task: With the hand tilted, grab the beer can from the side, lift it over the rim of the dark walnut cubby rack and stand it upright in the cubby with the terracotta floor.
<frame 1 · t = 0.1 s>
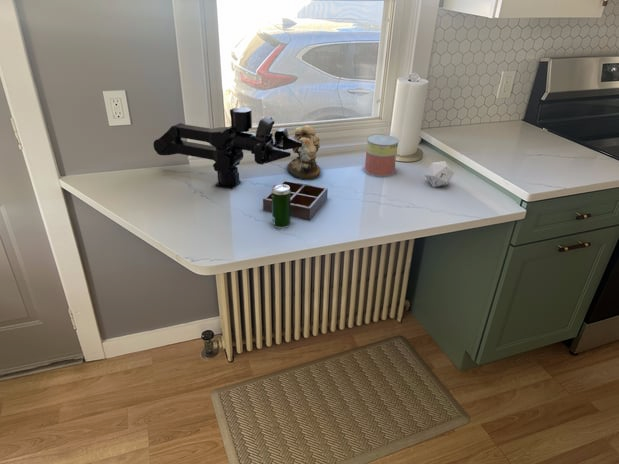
hand: (296, 149, 145), 17 cm above the worktop, tool horizontal, fingers open, 9 cm apart
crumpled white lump: (437, 185, 165), on the worktop
rack: (296, 205, 148), on the worktop
beige bust sculpture: (303, 171, 173), on the worktop
canned food: (379, 170, 174), on the worktop
beer can: (281, 225, 137), on the worktop
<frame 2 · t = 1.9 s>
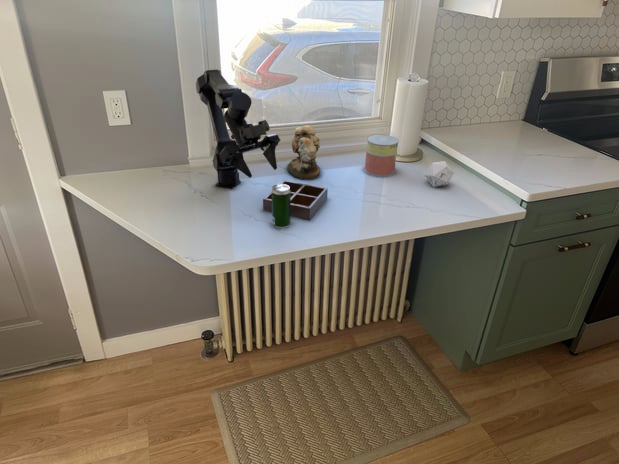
hand: (263, 173, 135), 14 cm above the worktop, tool tilted 45°, fingers open, 9 cm apart
nothing on the worktop moved.
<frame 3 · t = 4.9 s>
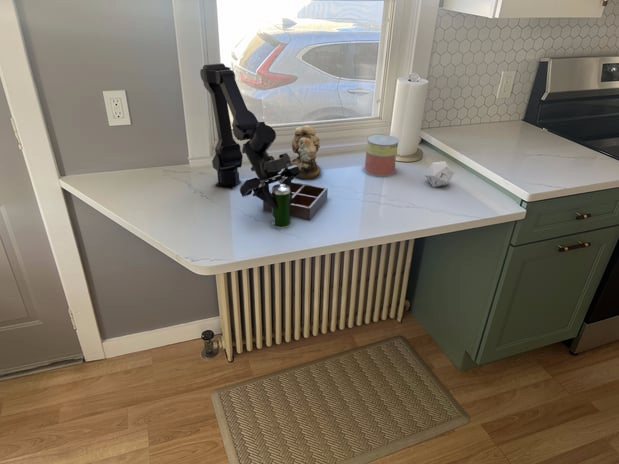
hand: (284, 206, 133), 7 cm above the worktop, tool tilted 45°, fingers closed on beer can, 5 cm apart
beer can: (281, 225, 137), on the worktop, touching gripper
everything else where it was.
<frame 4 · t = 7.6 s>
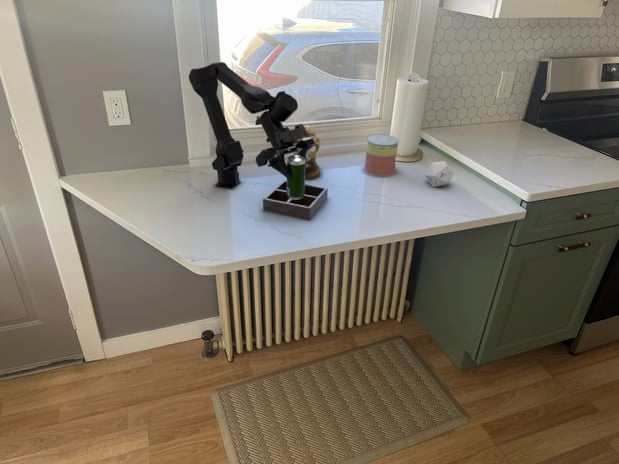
hand: (299, 177, 134), 13 cm above the worktop, tool tilted 45°, fingers closed on beer can, 5 cm apart
beer can: (295, 196, 139), point 6 cm above the worktop, touching gripper
everything else where it was.
when the fingers open (7 cm above the worktop, at t = 10.1 s): beer can stays where it is, resting on rack.
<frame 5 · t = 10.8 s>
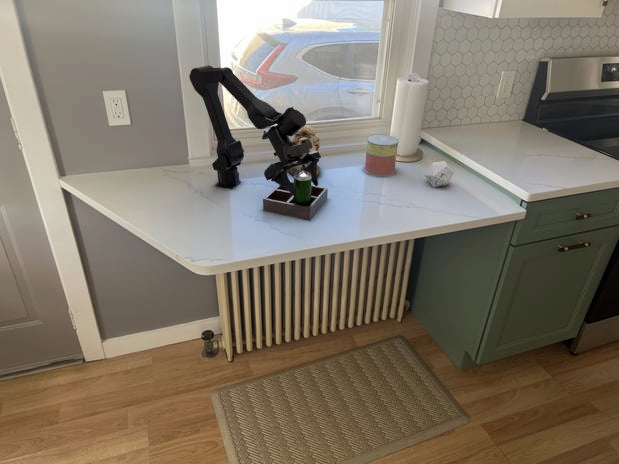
hand: (306, 189, 139), 8 cm above the worktop, tool tilted 45°, fingers open, 9 cm apart
beer can: (302, 210, 144), point 1 cm above the worktop, touching rack
everything else where it was.
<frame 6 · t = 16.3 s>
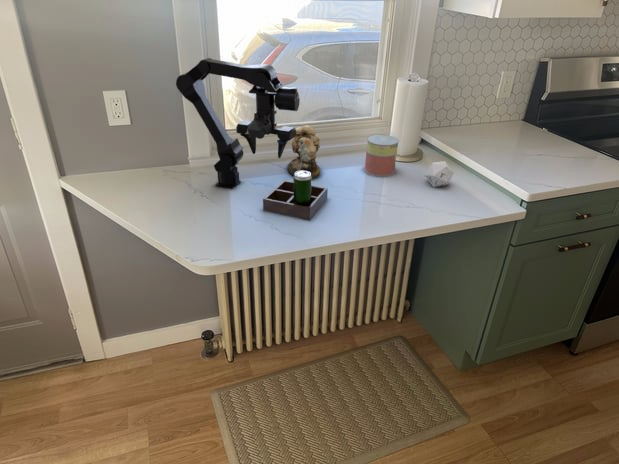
hand: (266, 155, 152), 12 cm above the worktop, tool pointing down, fingers open, 9 cm apart
nothing on the worktop moved.
at the end: beer can 0.1 cm from the target spot in the rack, point 0.6 cm above the rack's base; beer can tilted 0°; the gripper is holding nothing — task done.
